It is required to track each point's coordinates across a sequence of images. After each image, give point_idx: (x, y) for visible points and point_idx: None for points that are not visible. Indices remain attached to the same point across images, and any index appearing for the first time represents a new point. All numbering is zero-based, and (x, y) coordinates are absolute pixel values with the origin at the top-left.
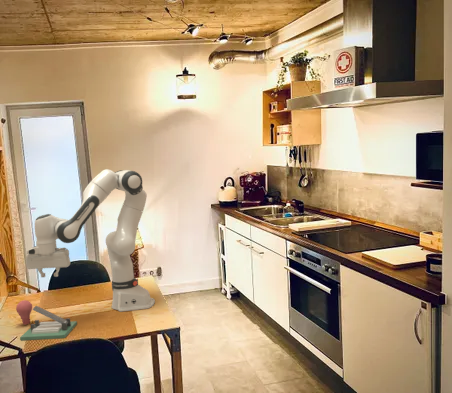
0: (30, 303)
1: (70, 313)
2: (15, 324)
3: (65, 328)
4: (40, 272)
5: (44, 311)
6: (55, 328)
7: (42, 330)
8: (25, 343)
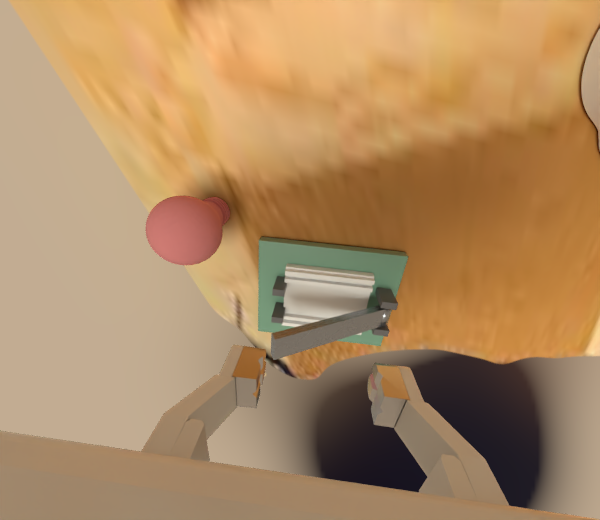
0: (205, 234)
1: (364, 117)
2: None
3: None
4: (213, 425)
5: (313, 339)
6: None
7: None
8: None
